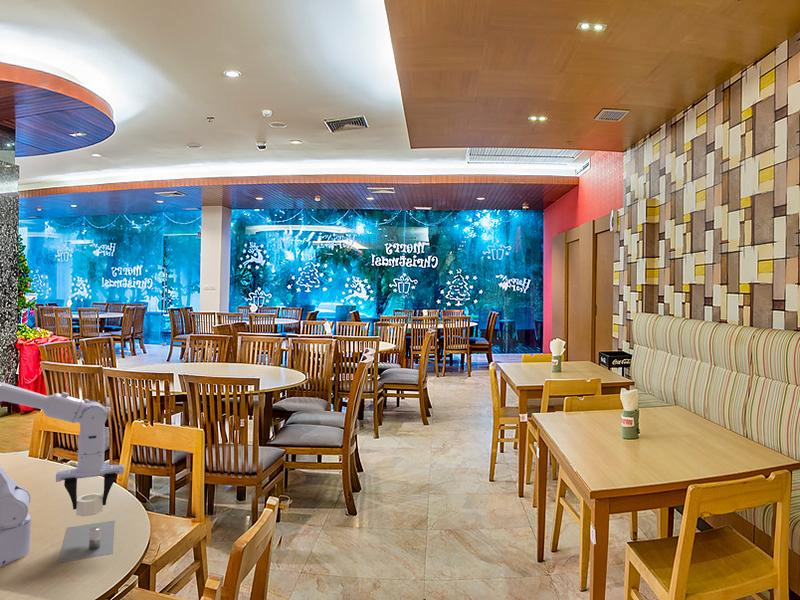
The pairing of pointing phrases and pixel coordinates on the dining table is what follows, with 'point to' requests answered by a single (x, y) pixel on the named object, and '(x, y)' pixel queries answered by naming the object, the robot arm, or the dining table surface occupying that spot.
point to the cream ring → (89, 504)
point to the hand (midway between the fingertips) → (89, 505)
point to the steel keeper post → (94, 538)
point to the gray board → (86, 542)
